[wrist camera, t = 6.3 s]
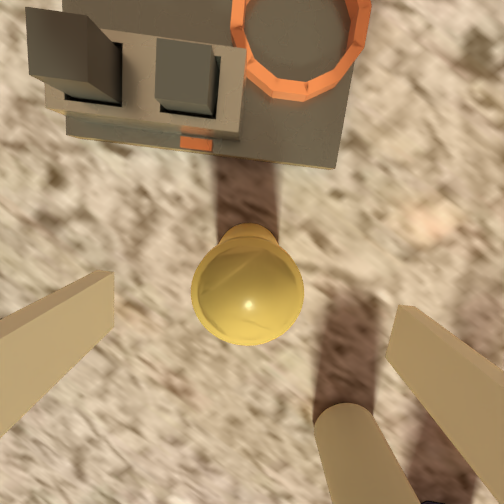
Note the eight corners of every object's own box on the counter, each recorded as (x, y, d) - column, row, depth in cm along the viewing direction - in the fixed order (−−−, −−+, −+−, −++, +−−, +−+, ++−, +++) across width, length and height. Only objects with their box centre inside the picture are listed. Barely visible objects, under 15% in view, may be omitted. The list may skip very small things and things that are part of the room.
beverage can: (301, 414, 29) (336, 570, 17) (356, 387, 28) (433, 529, 16) (329, 456, 30) (379, 628, 18) (382, 431, 29) (471, 593, 17)
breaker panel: (78, 138, 22) (30, 124, 18) (74, -55, 20) (15, -135, 15) (329, 169, 23) (351, 164, 18) (361, -12, 20) (396, -76, 15)
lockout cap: (211, 281, 25) (187, 339, 16) (217, 214, 24) (195, 232, 14) (277, 289, 26) (294, 350, 16) (287, 223, 24) (312, 246, 14)
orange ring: (227, 91, 20) (225, 84, 19) (240, -57, 18) (239, -79, 17) (346, 107, 21) (354, 101, 19) (372, -37, 19) (383, -57, 17)
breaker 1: (81, 101, 18) (29, 74, 14) (80, 51, 18) (25, 6, 13) (126, 107, 19) (87, 82, 14) (127, 57, 18) (87, 15, 14)
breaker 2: (175, 118, 20) (154, 98, 16) (177, 72, 19) (156, 37, 15) (216, 123, 20) (207, 104, 16) (220, 78, 19) (211, 45, 15)
